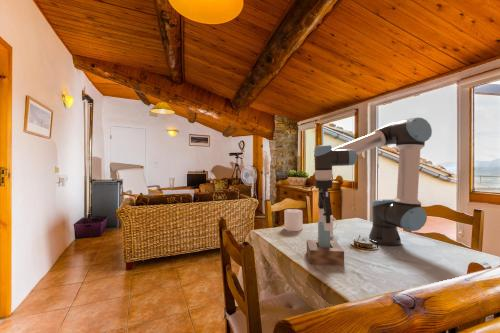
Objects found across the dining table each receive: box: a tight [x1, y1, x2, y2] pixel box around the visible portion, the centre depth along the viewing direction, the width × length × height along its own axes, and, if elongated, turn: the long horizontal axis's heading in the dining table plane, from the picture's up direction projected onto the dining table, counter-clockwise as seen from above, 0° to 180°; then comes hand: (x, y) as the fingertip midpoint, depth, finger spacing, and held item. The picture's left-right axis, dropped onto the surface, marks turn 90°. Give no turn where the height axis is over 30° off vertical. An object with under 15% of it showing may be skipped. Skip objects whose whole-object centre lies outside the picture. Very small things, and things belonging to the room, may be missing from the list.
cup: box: [283, 208, 304, 232], centre depth 157 cm, size 12×12×12 cm
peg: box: [317, 221, 331, 248], centre depth 108 cm, size 4×4×16 cm
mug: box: [330, 214, 337, 239], centre depth 141 cm, size 12×8×12 cm
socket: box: [306, 239, 345, 266], centre depth 108 cm, size 14×14×6 cm
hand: (324, 226), depth 108 cm, fingers open, 13 cm apart
